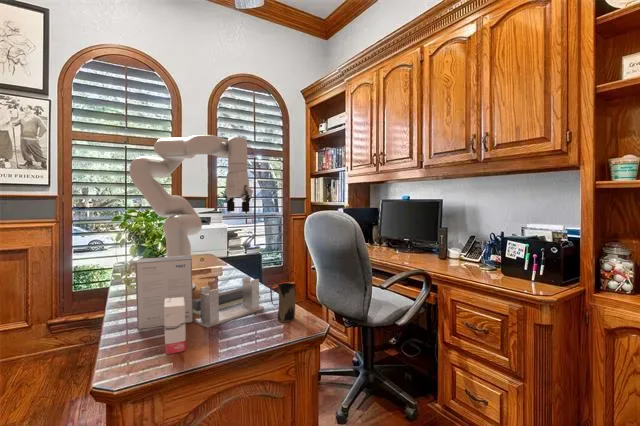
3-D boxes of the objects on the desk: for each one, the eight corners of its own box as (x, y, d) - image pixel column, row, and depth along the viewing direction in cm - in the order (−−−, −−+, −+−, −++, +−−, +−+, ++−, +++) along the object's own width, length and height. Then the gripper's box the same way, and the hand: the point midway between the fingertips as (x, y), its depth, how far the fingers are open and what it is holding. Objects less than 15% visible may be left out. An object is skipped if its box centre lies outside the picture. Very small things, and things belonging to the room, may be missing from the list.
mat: (186, 310, 112) (186, 308, 112) (247, 293, 132) (247, 292, 132) (198, 315, 107) (198, 313, 107) (260, 297, 127) (260, 295, 127)
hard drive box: (193, 314, 108) (192, 254, 107) (193, 322, 101) (192, 258, 100) (140, 320, 102) (138, 257, 102) (136, 330, 95) (134, 262, 94)
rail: (192, 309, 112) (192, 299, 111) (249, 293, 130) (248, 285, 130) (197, 311, 110) (197, 301, 110) (253, 295, 128) (253, 287, 128)
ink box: (186, 351, 82) (185, 305, 81) (164, 355, 80) (163, 307, 79) (184, 338, 90) (184, 295, 89) (165, 341, 88) (164, 297, 87)
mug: (291, 315, 108) (291, 279, 107) (297, 320, 103) (297, 283, 102) (268, 318, 105) (268, 281, 104) (273, 324, 99) (273, 285, 99)
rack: (194, 322, 101) (194, 288, 101) (251, 304, 118) (251, 275, 118) (207, 327, 97) (206, 292, 96) (264, 308, 114) (264, 278, 113)
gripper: (217, 169, 133) (217, 211, 134) (243, 166, 122) (243, 212, 123) (232, 170, 139) (232, 210, 140) (259, 168, 128) (259, 211, 129)
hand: (238, 211), depth 131 cm, fingers open, 9 cm apart
